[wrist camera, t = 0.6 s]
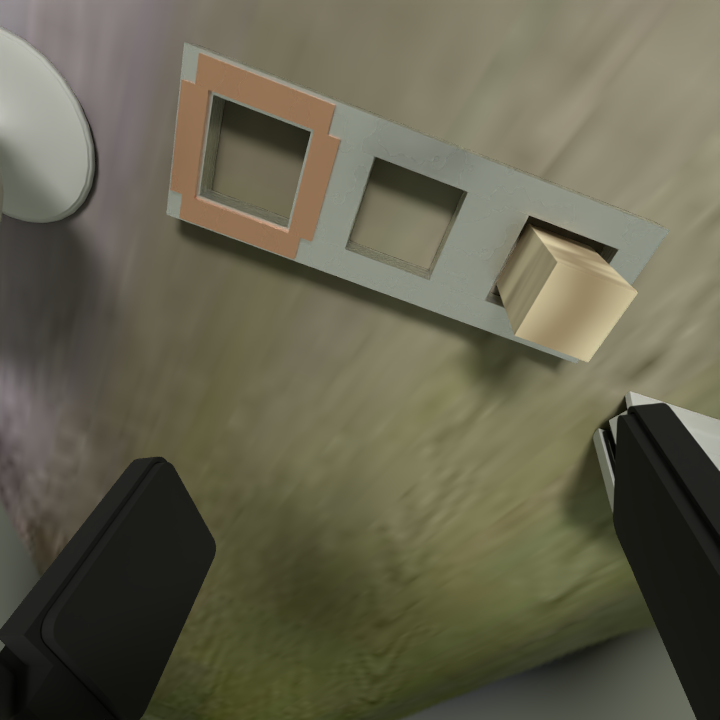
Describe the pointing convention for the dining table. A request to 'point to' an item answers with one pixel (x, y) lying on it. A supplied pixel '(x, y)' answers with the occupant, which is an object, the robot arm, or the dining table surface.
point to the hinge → (707, 431)
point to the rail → (348, 184)
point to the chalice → (40, 137)
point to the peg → (561, 293)
